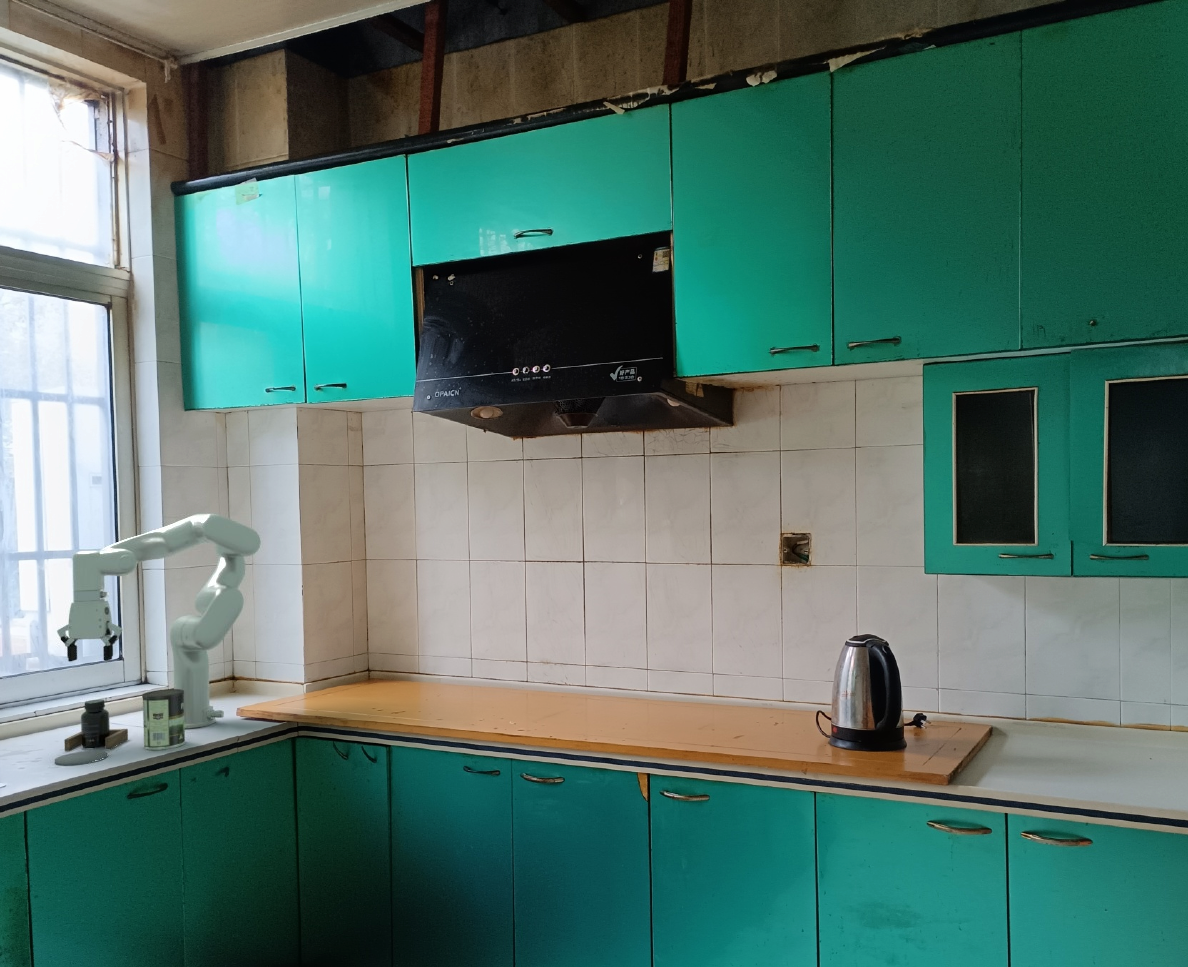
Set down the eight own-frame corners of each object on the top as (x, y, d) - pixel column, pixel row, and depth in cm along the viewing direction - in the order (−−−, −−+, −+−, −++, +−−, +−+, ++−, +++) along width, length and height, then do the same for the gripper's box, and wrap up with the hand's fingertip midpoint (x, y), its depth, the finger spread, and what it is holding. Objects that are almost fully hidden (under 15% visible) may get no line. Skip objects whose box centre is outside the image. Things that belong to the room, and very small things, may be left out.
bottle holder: (127, 739, 273) (127, 728, 273) (109, 749, 263) (109, 738, 263) (84, 741, 273) (84, 730, 273) (64, 751, 263) (64, 739, 263)
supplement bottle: (88, 743, 270) (87, 699, 271) (114, 742, 271) (113, 697, 271) (77, 749, 264) (76, 704, 264) (103, 748, 264) (103, 703, 264)
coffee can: (181, 738, 273) (180, 687, 273) (188, 746, 264) (187, 692, 264) (140, 744, 267) (139, 692, 268) (146, 752, 259) (145, 697, 259)
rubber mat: (116, 752, 260) (116, 750, 260) (93, 764, 248) (93, 762, 248) (69, 753, 259) (69, 751, 259) (45, 766, 247) (45, 763, 247)
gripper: (127, 594, 272) (128, 657, 272) (65, 596, 273) (66, 658, 273) (113, 597, 265) (114, 662, 265) (49, 598, 266) (50, 663, 265)
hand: (90, 660), depth 269 cm, fingers open, 9 cm apart
